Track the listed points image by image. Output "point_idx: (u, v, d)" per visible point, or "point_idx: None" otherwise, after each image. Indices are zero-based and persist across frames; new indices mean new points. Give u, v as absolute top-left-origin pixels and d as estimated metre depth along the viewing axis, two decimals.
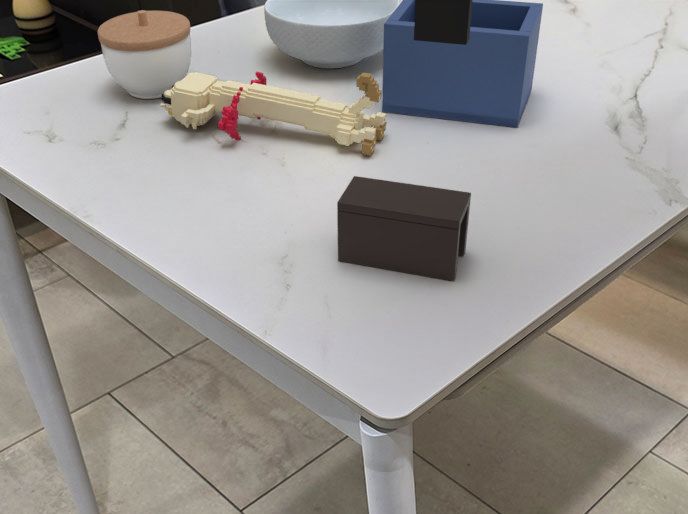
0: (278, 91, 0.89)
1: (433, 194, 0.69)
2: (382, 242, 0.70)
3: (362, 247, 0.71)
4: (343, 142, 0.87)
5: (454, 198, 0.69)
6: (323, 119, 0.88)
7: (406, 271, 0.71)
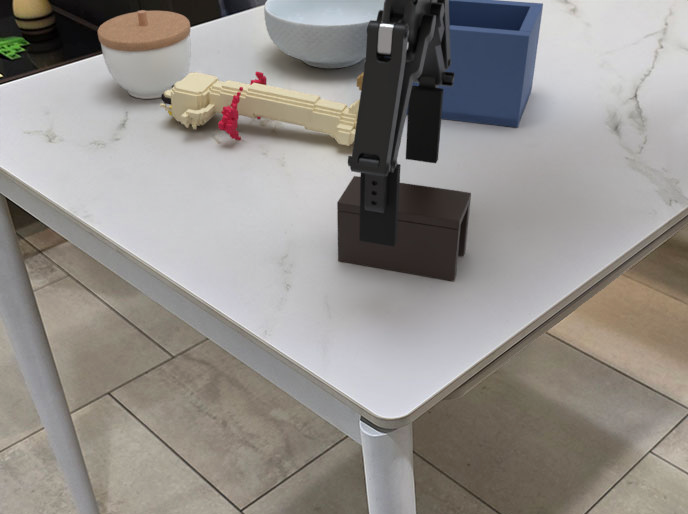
0: (278, 91, 0.89)
1: (433, 194, 0.69)
2: None
3: (362, 247, 0.71)
4: (343, 142, 0.87)
5: (454, 198, 0.69)
6: (323, 119, 0.88)
7: (406, 271, 0.71)
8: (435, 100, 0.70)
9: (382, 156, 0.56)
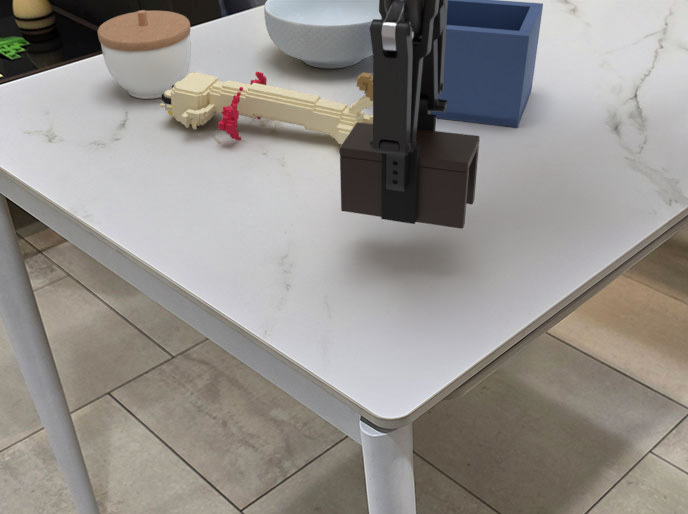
0: (278, 91, 0.89)
1: (440, 138, 0.66)
2: None
3: (366, 195, 0.68)
4: None
5: (462, 141, 0.66)
6: (323, 119, 0.88)
7: None
8: (427, 127, 0.67)
9: (401, 141, 0.60)
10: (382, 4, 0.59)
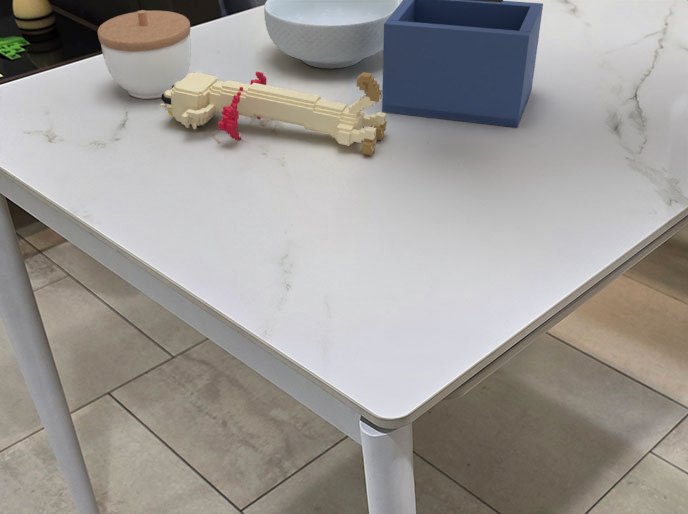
0: (278, 91, 0.89)
1: None
2: None
3: None
4: (343, 142, 0.87)
5: None
6: (323, 119, 0.88)
7: None
8: None
9: None
10: None
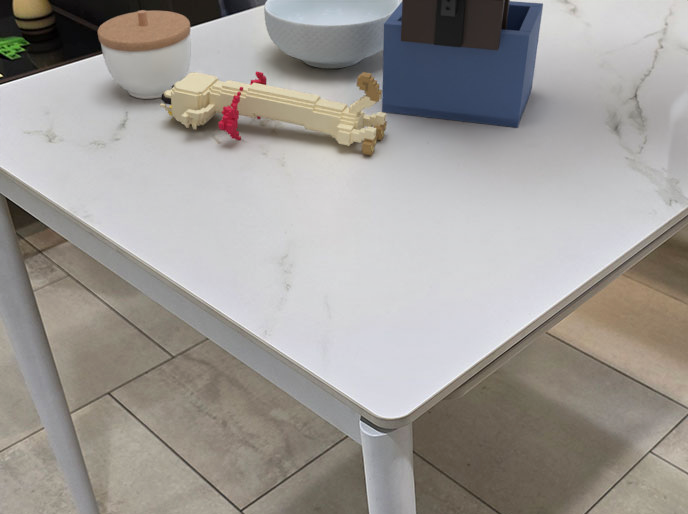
0: (278, 91, 0.89)
1: None
2: None
3: (422, 25, 0.86)
4: (343, 142, 0.87)
5: None
6: (323, 119, 0.88)
7: None
8: None
9: None
10: None
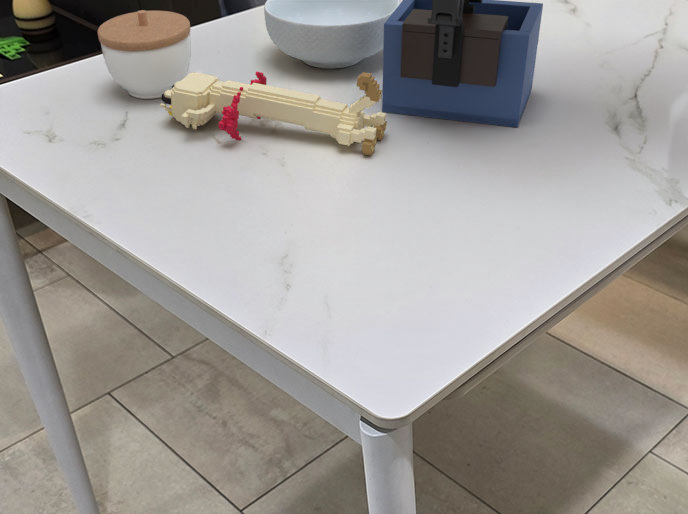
0: (278, 91, 0.89)
1: (478, 17, 0.87)
2: None
3: (421, 62, 0.89)
4: (343, 142, 0.87)
5: (495, 19, 0.87)
6: (324, 119, 0.88)
7: None
8: None
9: (453, 14, 0.81)
10: None
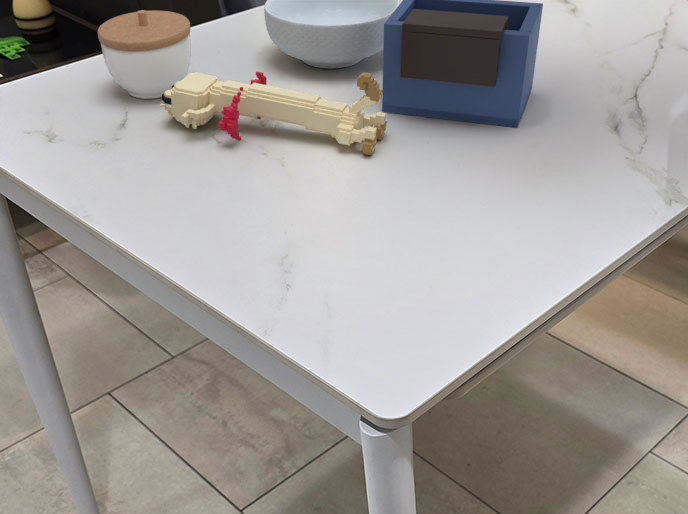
0: (278, 91, 0.89)
1: (478, 17, 0.87)
2: (437, 56, 0.88)
3: (421, 62, 0.89)
4: (344, 142, 0.87)
5: (495, 19, 0.87)
6: (324, 119, 0.88)
7: (456, 81, 0.88)
8: None
9: None
10: None
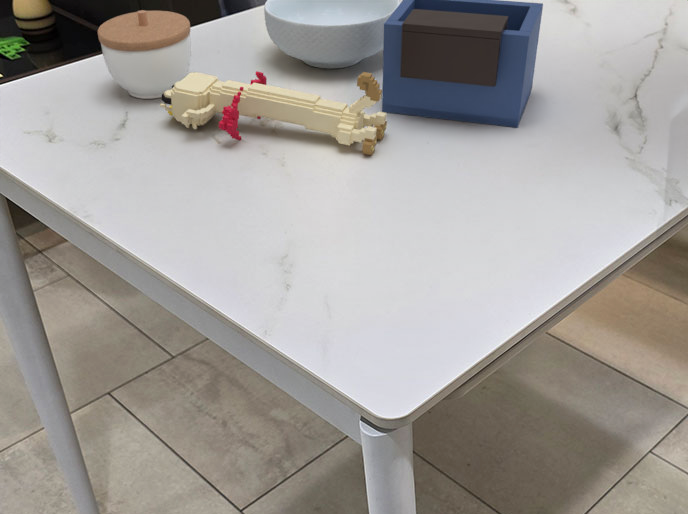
0: (278, 91, 0.89)
1: (478, 17, 0.87)
2: (437, 56, 0.88)
3: (421, 62, 0.89)
4: (344, 141, 0.87)
5: (495, 19, 0.87)
6: (324, 119, 0.88)
7: (456, 81, 0.88)
8: None
9: None
10: None
